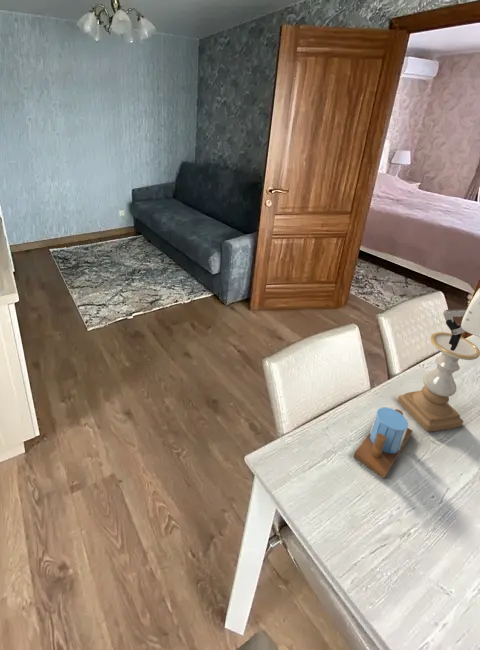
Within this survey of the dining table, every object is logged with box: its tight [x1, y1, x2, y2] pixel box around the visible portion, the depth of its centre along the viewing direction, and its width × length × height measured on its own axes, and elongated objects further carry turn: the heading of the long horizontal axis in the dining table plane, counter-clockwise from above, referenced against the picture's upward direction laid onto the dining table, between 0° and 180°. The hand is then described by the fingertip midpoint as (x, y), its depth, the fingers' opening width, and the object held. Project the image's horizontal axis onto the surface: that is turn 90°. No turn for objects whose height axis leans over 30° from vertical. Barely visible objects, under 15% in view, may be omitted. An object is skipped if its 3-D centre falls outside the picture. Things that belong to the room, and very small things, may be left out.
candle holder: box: [397, 331, 480, 433], centre depth 93 cm, size 11×11×24 cm
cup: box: [369, 407, 409, 454], centre depth 86 cm, size 7×7×8 cm
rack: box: [353, 408, 413, 479], centre depth 86 cm, size 18×7×8 cm, turn 130°
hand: (479, 358), depth 77 cm, fingers open, 9 cm apart
